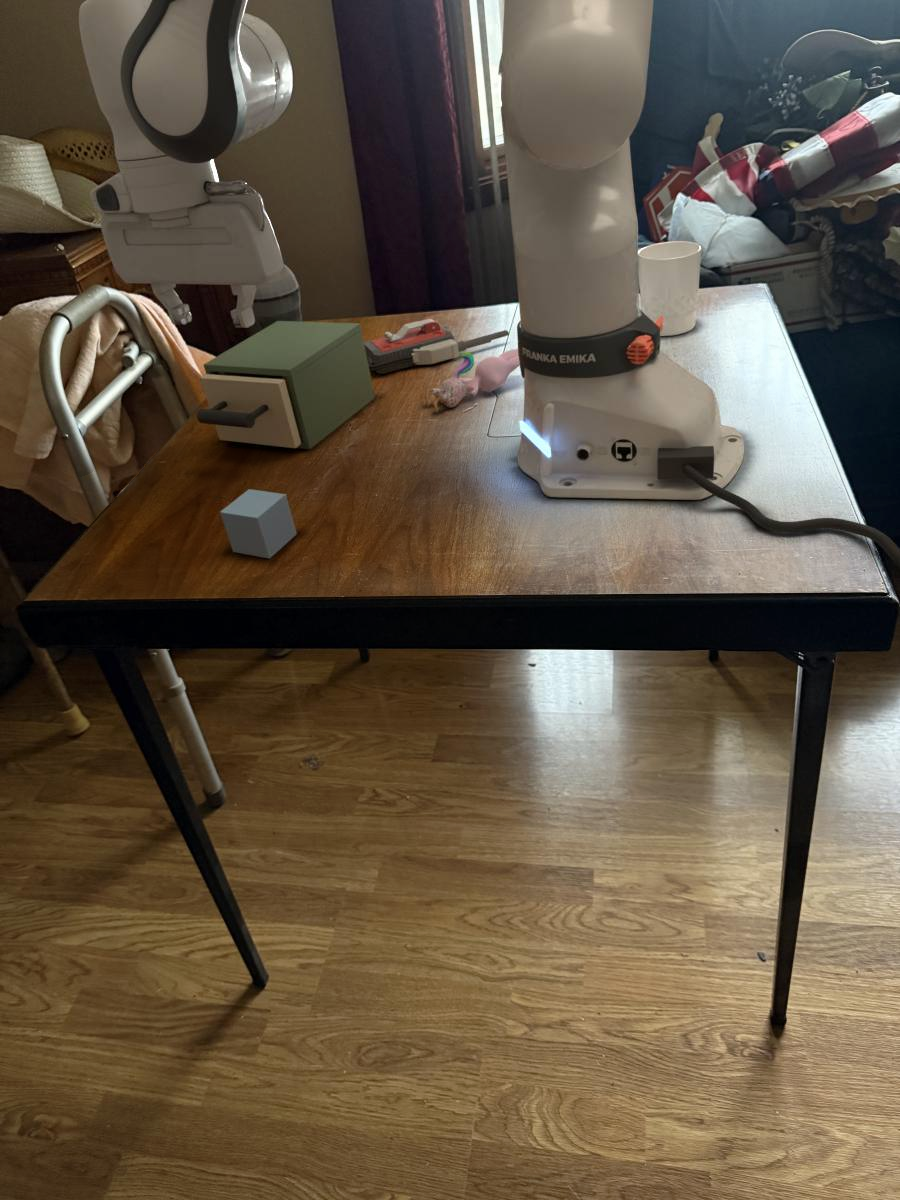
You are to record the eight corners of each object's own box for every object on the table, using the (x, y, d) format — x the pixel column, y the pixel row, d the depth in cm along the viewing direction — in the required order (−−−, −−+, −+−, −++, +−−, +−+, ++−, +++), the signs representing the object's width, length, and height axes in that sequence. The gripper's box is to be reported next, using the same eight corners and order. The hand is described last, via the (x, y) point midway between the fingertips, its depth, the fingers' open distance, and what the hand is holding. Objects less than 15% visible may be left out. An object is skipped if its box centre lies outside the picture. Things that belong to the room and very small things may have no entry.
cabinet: (310, 449, 101) (289, 369, 96) (226, 440, 107) (202, 364, 101) (375, 397, 111) (360, 323, 106) (295, 391, 117) (277, 320, 111)
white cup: (652, 342, 113) (651, 263, 108) (629, 324, 120) (628, 249, 114) (709, 330, 114) (712, 250, 108) (684, 313, 120) (685, 237, 115)
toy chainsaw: (376, 383, 115) (513, 344, 120) (369, 350, 113) (509, 312, 117) (356, 364, 122) (486, 328, 127) (350, 333, 119) (483, 297, 124)
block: (297, 534, 85) (285, 493, 83) (269, 559, 82) (257, 517, 80) (261, 528, 87) (248, 488, 85) (232, 552, 84) (219, 511, 82)
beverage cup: (309, 385, 118) (271, 229, 106) (260, 388, 120) (217, 235, 108) (326, 365, 124) (292, 214, 112) (278, 368, 125) (240, 220, 114)
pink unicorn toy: (446, 427, 104) (551, 372, 107) (431, 383, 100) (540, 327, 103) (424, 411, 109) (525, 359, 111) (409, 368, 105) (514, 315, 108)
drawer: (273, 465, 97) (254, 399, 92) (195, 456, 102) (174, 393, 97) (358, 400, 109) (345, 338, 104) (285, 394, 114) (270, 335, 110)
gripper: (276, 171, 83) (309, 317, 91) (122, 180, 92) (164, 311, 100) (234, 187, 78) (272, 338, 86) (77, 195, 87) (124, 331, 95)
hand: (213, 324), depth 93 cm, fingers open, 7 cm apart
